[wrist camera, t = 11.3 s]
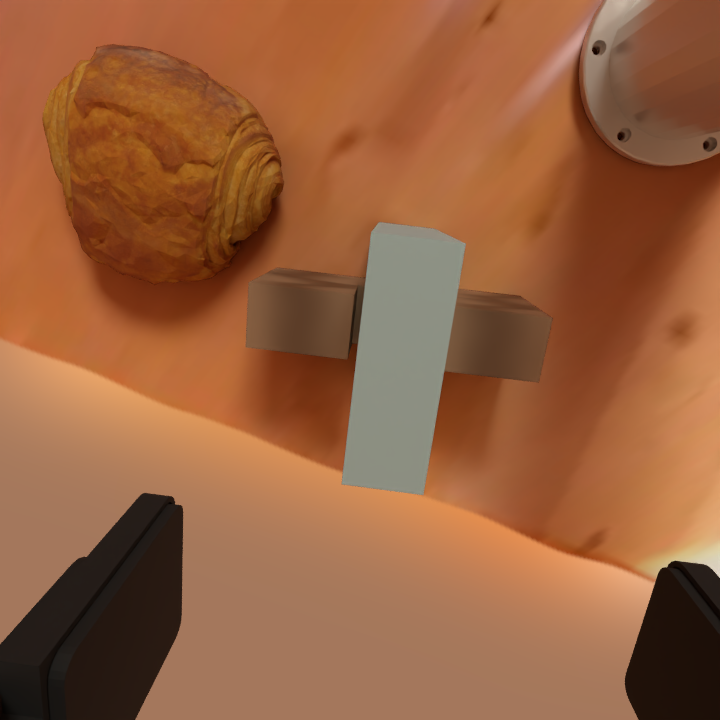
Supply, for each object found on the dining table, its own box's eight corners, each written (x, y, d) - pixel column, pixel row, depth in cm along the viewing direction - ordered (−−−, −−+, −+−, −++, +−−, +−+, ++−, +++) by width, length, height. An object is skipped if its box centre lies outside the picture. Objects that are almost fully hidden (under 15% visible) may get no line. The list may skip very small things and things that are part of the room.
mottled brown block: (520, 296, 38) (552, 318, 31) (509, 348, 40) (538, 382, 32) (276, 267, 39) (248, 282, 31) (273, 320, 40) (245, 347, 32)
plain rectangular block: (379, 222, 37) (371, 232, 22) (434, 228, 37) (465, 243, 22) (359, 380, 41) (341, 484, 26) (410, 386, 41) (423, 495, 25)
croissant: (122, 36, 37) (36, -21, 29) (316, 131, 36) (280, 98, 28) (63, 226, 41) (-28, 220, 33) (238, 318, 40) (187, 333, 32)
